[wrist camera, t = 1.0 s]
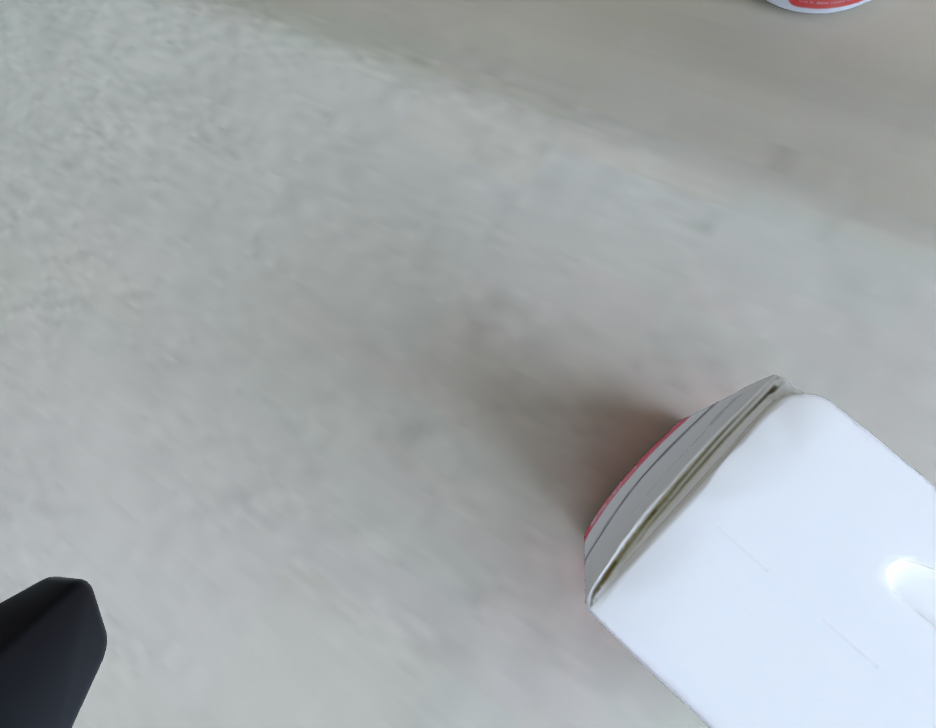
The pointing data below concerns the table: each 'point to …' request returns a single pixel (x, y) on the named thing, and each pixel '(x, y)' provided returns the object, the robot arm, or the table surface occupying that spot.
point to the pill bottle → (817, 5)
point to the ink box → (774, 567)
